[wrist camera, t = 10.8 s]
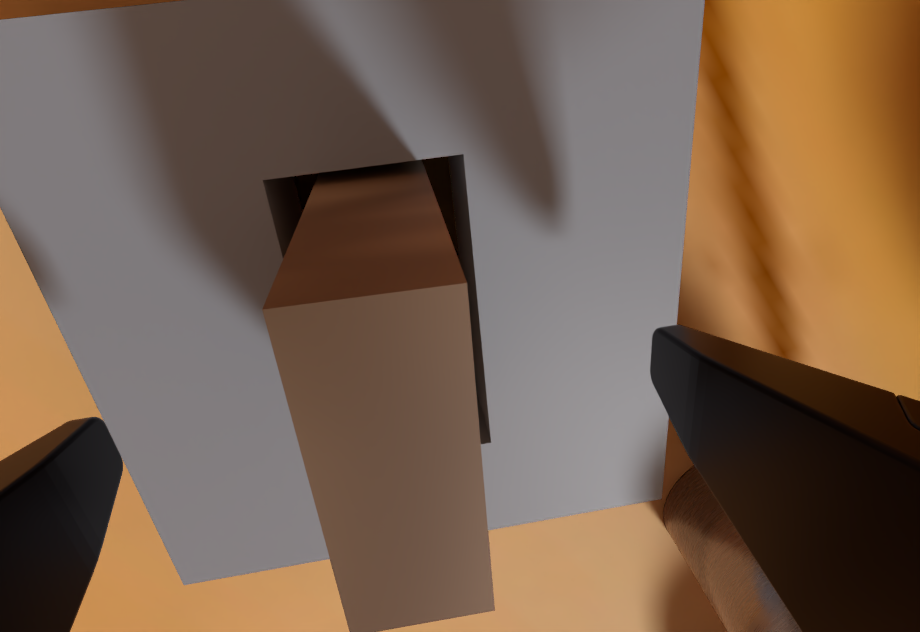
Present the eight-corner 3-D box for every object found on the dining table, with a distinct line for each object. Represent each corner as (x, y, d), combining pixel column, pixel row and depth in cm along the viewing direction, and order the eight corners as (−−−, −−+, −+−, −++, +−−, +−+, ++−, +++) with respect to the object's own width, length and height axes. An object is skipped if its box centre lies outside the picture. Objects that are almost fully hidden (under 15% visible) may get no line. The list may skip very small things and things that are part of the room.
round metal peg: (799, 437, 18) (1066, 689, 11) (778, 534, 20) (992, 800, 13) (668, 460, 18) (857, 735, 11) (659, 557, 20) (814, 842, 13)
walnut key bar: (416, 144, 13) (467, 283, 6) (438, 337, 15) (494, 610, 8) (326, 154, 13) (261, 309, 5) (363, 348, 15) (350, 635, 8)
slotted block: (632, -35, 12) (709, -56, 9) (617, 426, 17) (661, 499, 14) (27, 30, 11) (-87, 28, 8) (215, 495, 16) (183, 584, 14)
